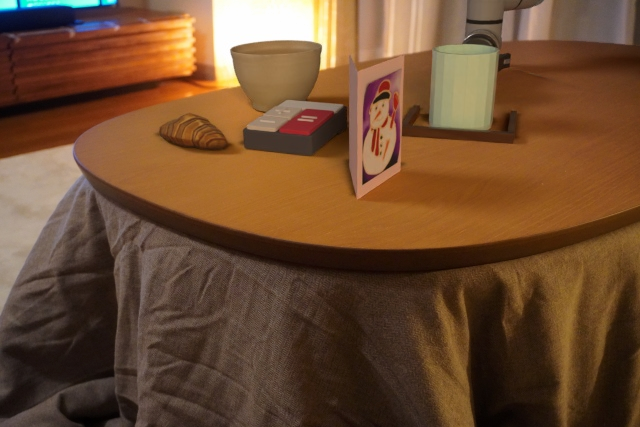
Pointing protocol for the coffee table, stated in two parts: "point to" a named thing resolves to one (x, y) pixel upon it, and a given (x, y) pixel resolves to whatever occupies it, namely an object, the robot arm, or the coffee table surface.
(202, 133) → the croissant
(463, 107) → the cup
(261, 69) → the planter bowl
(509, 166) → the coffee table surface
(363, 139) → the greeting card
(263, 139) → the calculator
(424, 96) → the coffee table surface
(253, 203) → the coffee table surface
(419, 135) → the bay
